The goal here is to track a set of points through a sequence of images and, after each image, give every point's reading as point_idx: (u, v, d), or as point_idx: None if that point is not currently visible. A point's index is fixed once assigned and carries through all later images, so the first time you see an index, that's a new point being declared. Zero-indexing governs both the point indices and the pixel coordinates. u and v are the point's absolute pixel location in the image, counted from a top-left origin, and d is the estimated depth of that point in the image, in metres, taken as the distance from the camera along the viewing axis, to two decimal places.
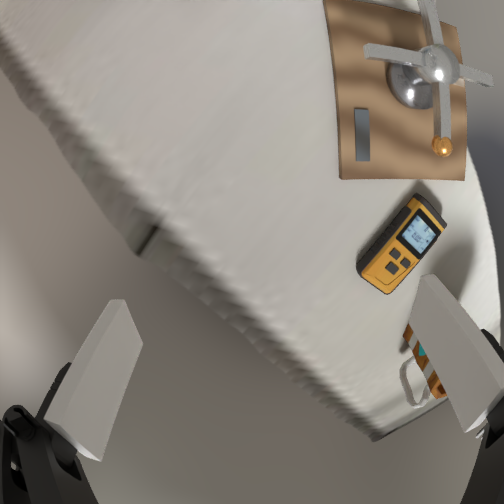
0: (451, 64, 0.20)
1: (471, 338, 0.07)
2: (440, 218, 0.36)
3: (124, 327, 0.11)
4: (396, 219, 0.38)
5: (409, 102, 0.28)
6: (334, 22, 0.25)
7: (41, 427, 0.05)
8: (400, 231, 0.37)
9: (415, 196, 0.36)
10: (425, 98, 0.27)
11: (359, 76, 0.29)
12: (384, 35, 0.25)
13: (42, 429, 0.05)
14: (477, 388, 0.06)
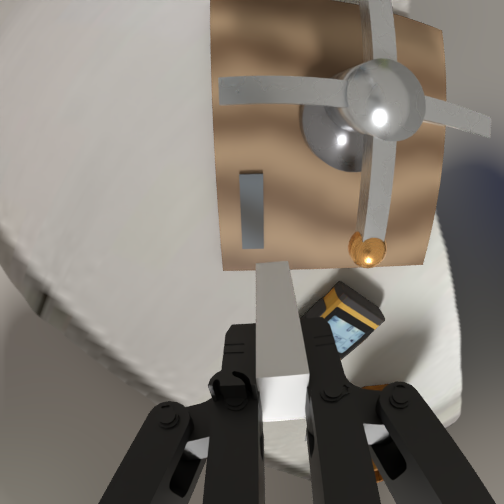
0: (406, 99, 0.12)
1: (280, 321, 0.09)
2: (372, 315, 0.29)
3: None
4: (307, 315, 0.31)
5: (330, 162, 0.21)
6: (218, 35, 0.18)
7: (257, 400, 0.07)
8: None
9: (336, 287, 0.29)
10: (363, 153, 0.20)
11: (251, 120, 0.21)
12: (305, 46, 0.18)
13: (257, 402, 0.07)
14: None
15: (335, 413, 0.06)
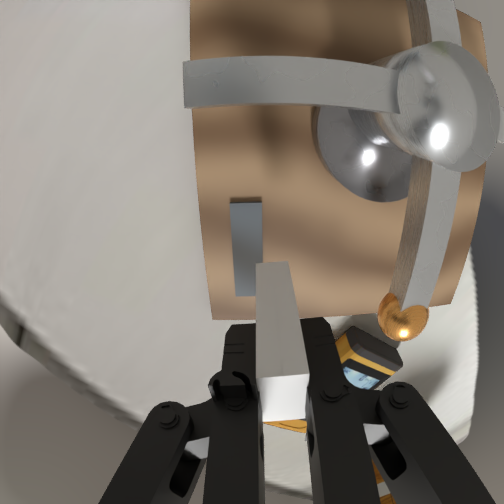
0: (479, 108, 0.07)
1: (280, 321, 0.09)
2: (390, 363, 0.23)
3: None
4: None
5: (355, 188, 0.15)
6: (201, 15, 0.12)
7: (257, 399, 0.07)
8: None
9: (348, 334, 0.24)
10: (398, 176, 0.14)
11: (246, 129, 0.16)
12: (319, 28, 0.12)
13: (258, 402, 0.07)
14: None
15: (335, 413, 0.06)
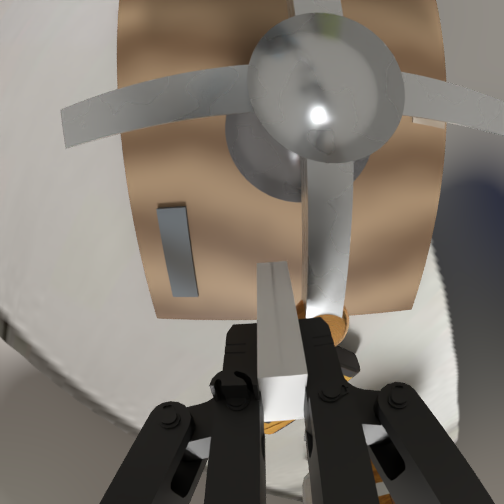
0: (365, 81, 0.07)
1: (278, 321, 0.09)
2: (342, 368, 0.23)
3: None
4: None
5: (272, 191, 0.15)
6: (126, 33, 0.12)
7: (259, 399, 0.07)
8: None
9: None
10: None
11: (166, 137, 0.16)
12: (235, 28, 0.13)
13: (259, 402, 0.07)
14: None
15: (334, 413, 0.06)
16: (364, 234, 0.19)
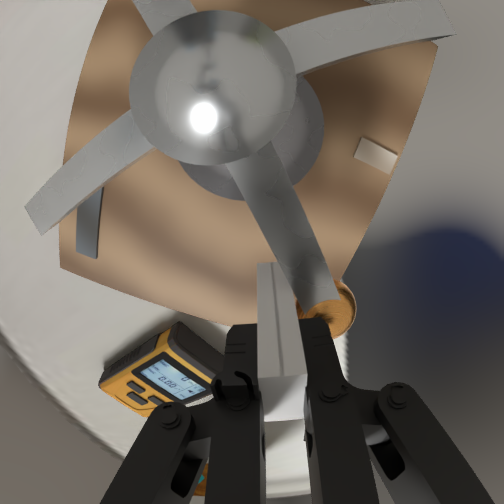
0: (239, 62, 0.07)
1: (278, 321, 0.09)
2: (213, 374, 0.23)
3: None
4: (142, 346, 0.25)
5: None
6: None
7: (259, 399, 0.07)
8: (136, 367, 0.24)
9: (172, 328, 0.23)
10: (283, 159, 0.14)
11: (109, 103, 0.14)
12: None
13: (259, 402, 0.07)
14: None
15: (333, 413, 0.06)
16: (264, 252, 0.19)
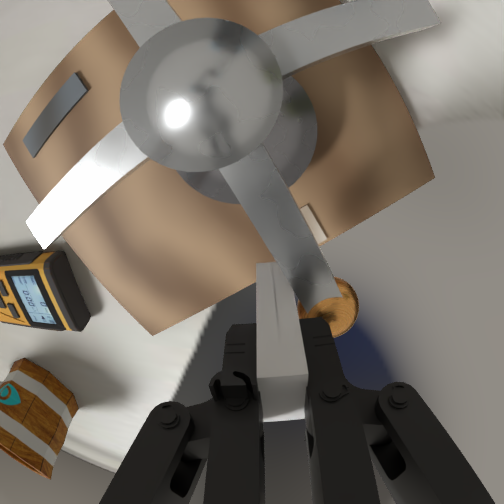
0: (224, 68, 0.07)
1: (279, 321, 0.09)
2: (67, 313, 0.21)
3: None
4: (24, 254, 0.20)
5: None
6: None
7: (258, 399, 0.07)
8: (10, 270, 0.19)
9: (54, 253, 0.20)
10: (278, 160, 0.14)
11: None
12: (263, 23, 0.12)
13: (258, 402, 0.07)
14: None
15: (334, 413, 0.06)
16: (164, 243, 0.19)
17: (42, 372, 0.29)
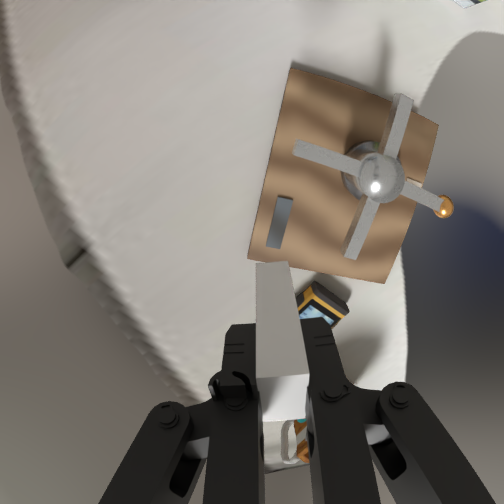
0: (386, 169, 0.25)
1: (280, 321, 0.09)
2: (339, 307, 0.41)
3: None
4: None
5: None
6: (289, 99, 0.30)
7: (257, 399, 0.07)
8: None
9: (312, 285, 0.42)
10: None
11: (295, 164, 0.34)
12: (342, 122, 0.31)
13: (257, 402, 0.07)
14: None
15: (335, 413, 0.06)
16: (369, 234, 0.38)
17: None
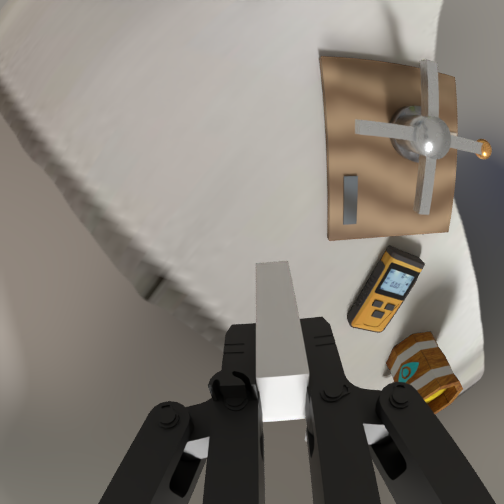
0: (435, 129, 0.24)
1: (280, 321, 0.09)
2: (415, 262, 0.40)
3: None
4: (373, 274, 0.43)
5: None
6: (329, 85, 0.30)
7: (257, 399, 0.07)
8: (377, 285, 0.42)
9: (387, 250, 0.41)
10: None
11: (350, 142, 0.34)
12: (379, 96, 0.30)
13: (257, 402, 0.07)
14: None
15: (335, 413, 0.06)
16: None
17: (410, 338, 0.51)
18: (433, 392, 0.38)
